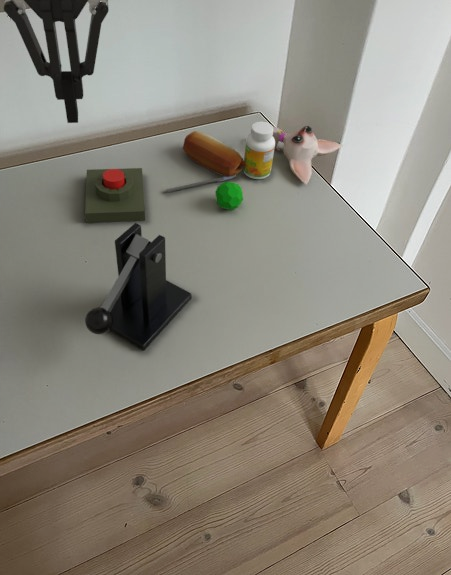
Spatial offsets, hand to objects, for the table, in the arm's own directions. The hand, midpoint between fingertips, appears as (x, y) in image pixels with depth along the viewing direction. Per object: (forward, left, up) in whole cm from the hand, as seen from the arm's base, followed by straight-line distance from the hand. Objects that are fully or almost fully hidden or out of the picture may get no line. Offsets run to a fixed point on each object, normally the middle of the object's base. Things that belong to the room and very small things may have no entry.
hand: (72, 117), depth 84 cm
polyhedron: (-2, +25, -20) cm, 32 cm away
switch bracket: (+21, +9, -20) cm, 30 cm away
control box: (-5, +5, -20) cm, 21 cm away
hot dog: (-13, +21, -18) cm, 30 cm away
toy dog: (-21, +34, -16) cm, 43 cm away
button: (-5, +5, -16) cm, 18 cm away
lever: (+24, +6, -12) cm, 27 cm away
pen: (-8, +21, -20) cm, 30 cm away
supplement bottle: (-12, +32, -20) cm, 39 cm away
